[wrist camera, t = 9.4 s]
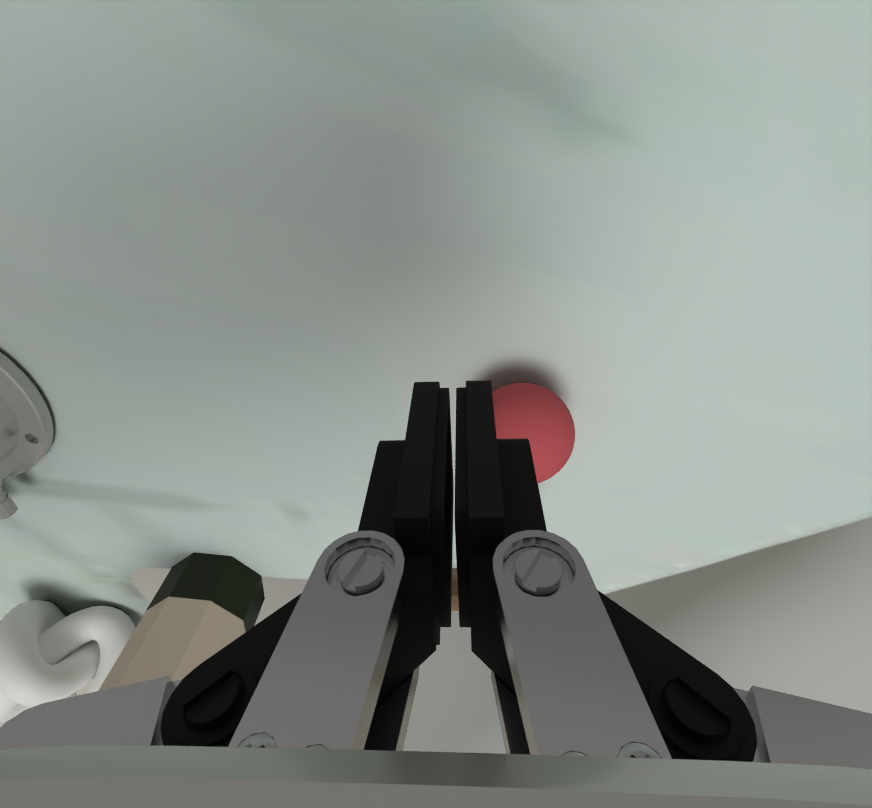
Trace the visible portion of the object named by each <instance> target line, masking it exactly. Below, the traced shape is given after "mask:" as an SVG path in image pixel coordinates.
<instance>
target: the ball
mask: <svg viewBox="0 0 872 808" xmlns="http://www.w3.org/2000/svg"><path fill="white" fill-rule="evenodd" d="M492 397H493V407H494V416H495V426H496V436H497V439H521V438H528V440H529V443H530V447H531V452H532V457H533V463H534V468H535V473H536V478H537V483H540V482H543V481H545V480H547V479H549V478H551V477H552V476H554V475H555V474H556V473H557V472H559V471H560V470H561V469H562V467H563V466H564V465H565V464H566V462H567V461H568V459H569V457H570V455H571V453H572V450H573V446H574V442H575V428H574V423H573V419H572V416H571V414H570V411H569V410H568V408H567V406H566V405H565V404H564V402H563V401H562V400H561V399H560V398H559V397H558V396H557V395H556V394H554V393H553V392H552V391H550V390H548V389H547V388H545V387H542V386H539V385H536V384H532V383H513V384H508V385H505V386H503V387H500V388H498V389H497V390H495V391H493V392H492Z"/></svg>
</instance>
